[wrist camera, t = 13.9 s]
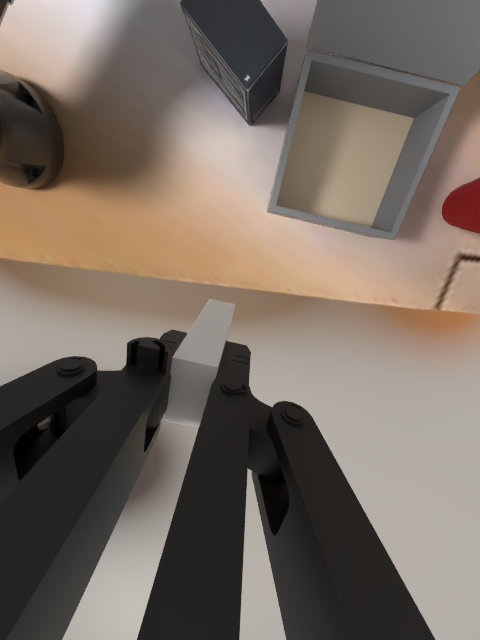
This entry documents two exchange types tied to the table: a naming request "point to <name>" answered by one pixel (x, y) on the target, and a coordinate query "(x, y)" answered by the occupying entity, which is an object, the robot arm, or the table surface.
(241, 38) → the small box
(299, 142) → the grey open rectangular box
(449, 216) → the plastic cup
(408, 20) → the lid
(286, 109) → the table surface
